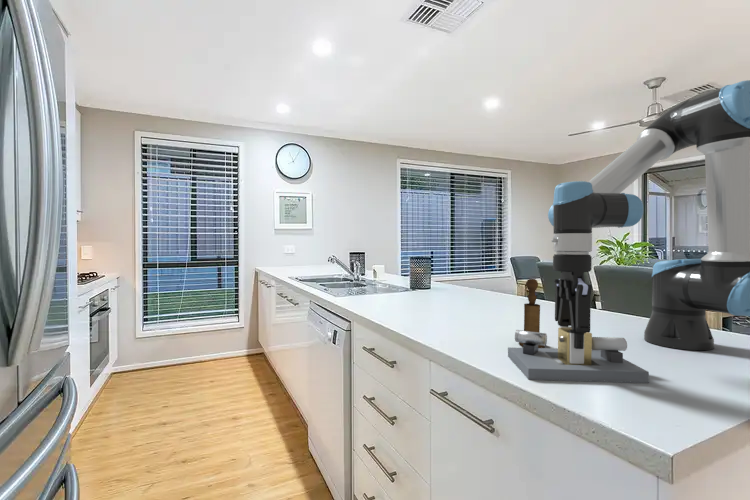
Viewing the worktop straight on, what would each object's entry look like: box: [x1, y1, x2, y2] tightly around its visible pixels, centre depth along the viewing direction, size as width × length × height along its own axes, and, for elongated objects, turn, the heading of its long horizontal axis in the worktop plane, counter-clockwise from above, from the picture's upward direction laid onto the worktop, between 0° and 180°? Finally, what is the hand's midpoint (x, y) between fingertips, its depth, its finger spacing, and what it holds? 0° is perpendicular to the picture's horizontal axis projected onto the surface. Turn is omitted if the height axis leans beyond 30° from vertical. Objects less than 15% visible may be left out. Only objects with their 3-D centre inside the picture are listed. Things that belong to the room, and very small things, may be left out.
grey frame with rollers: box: [507, 336, 650, 384], centre depth 85 cm, size 23×16×7 cm
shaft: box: [514, 329, 548, 355], centre depth 90 cm, size 6×4×5 cm
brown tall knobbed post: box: [518, 278, 546, 348], centre depth 104 cm, size 7×6×18 cm
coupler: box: [557, 327, 593, 365], centre depth 85 cm, size 6×5×7 cm
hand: (570, 358), depth 85 cm, fingers closed on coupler, 5 cm apart
